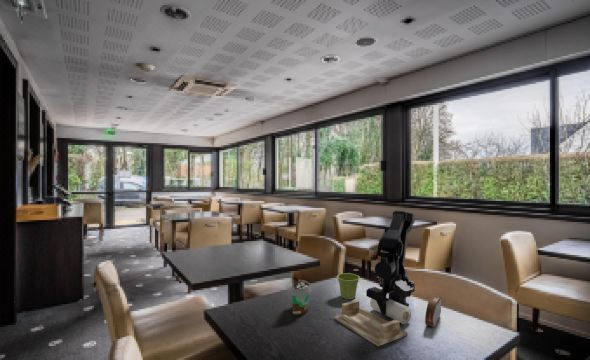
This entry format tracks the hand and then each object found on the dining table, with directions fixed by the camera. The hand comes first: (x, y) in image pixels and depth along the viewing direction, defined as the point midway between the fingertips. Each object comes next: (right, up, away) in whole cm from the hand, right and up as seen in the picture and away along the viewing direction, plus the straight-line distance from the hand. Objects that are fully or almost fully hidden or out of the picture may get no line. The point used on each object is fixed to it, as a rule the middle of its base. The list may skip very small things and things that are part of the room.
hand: (389, 313), depth 114 cm
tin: (+14, -1, -4) cm, 15 cm away
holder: (-10, -1, -8) cm, 13 cm away
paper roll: (0, -1, 0) cm, 1 cm away
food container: (-32, -1, +4) cm, 32 cm away
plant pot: (-12, -1, +18) cm, 22 cm away
